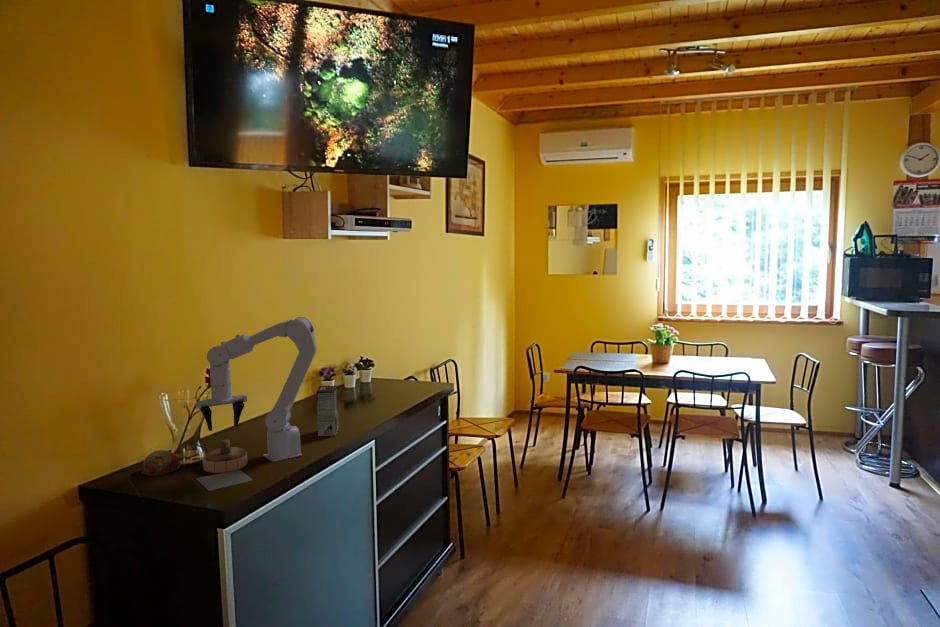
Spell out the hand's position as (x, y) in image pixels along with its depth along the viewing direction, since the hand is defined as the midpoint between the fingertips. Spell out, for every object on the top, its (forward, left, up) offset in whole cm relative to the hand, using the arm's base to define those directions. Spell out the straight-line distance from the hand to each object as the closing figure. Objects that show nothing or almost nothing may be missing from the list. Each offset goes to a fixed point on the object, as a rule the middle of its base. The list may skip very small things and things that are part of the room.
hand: (223, 428), depth 193 cm
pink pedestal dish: (+2, +7, -6) cm, 10 cm away
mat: (+6, +19, -10) cm, 22 cm away
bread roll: (+18, -2, -10) cm, 20 cm away
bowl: (+2, +7, -10) cm, 12 cm away
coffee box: (-37, -5, -10) cm, 39 cm away
